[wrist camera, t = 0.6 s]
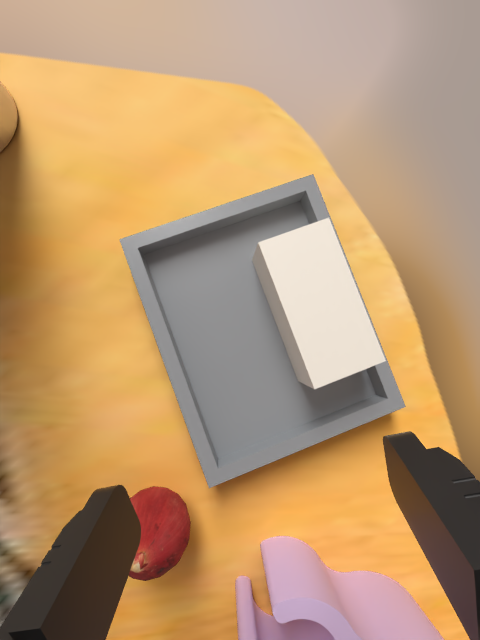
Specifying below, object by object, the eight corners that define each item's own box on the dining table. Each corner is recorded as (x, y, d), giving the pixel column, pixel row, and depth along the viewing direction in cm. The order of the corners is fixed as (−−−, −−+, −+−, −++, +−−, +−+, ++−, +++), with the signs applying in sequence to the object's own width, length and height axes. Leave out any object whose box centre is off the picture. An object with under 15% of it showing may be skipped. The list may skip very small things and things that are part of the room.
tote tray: (130, 250, 29) (119, 239, 26) (304, 190, 30) (313, 174, 27) (210, 472, 28) (209, 488, 25) (386, 400, 29) (405, 406, 26)
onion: (207, 510, 28) (201, 578, 20) (154, 552, 27) (126, 639, 19) (169, 458, 28) (148, 504, 20) (116, 498, 27) (72, 563, 19)
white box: (251, 259, 29) (258, 242, 24) (310, 238, 29) (329, 217, 24) (298, 380, 28) (314, 389, 23) (357, 357, 28) (386, 360, 23)
